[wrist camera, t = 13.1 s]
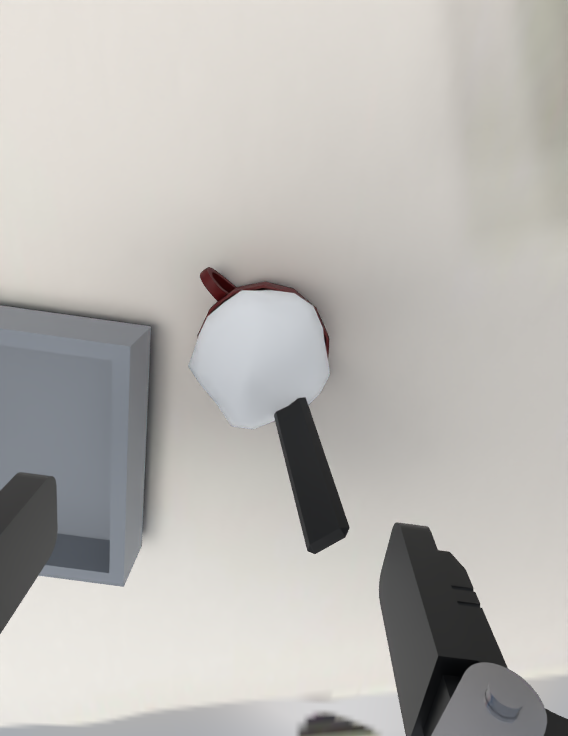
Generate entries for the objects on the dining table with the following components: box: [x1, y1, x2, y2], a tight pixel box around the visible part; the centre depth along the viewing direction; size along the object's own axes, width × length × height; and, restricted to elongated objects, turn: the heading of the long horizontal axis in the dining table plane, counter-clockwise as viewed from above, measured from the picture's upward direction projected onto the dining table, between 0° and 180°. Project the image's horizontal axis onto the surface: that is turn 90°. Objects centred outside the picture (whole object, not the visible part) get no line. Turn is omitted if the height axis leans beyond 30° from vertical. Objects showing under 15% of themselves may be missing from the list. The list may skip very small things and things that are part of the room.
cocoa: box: [188, 267, 349, 554], centre depth 22 cm, size 10×6×12 cm, turn 14°
